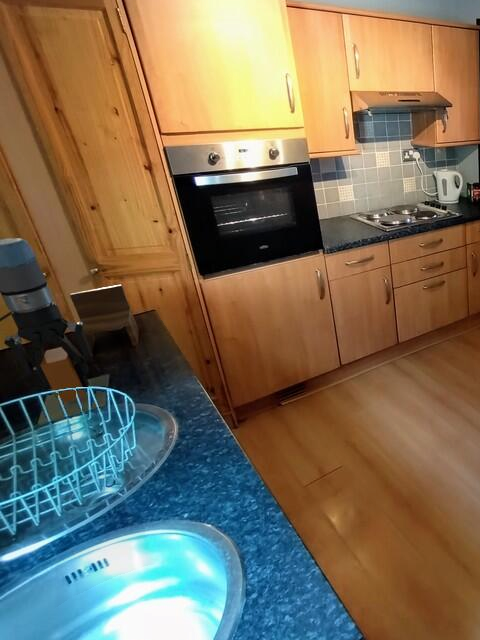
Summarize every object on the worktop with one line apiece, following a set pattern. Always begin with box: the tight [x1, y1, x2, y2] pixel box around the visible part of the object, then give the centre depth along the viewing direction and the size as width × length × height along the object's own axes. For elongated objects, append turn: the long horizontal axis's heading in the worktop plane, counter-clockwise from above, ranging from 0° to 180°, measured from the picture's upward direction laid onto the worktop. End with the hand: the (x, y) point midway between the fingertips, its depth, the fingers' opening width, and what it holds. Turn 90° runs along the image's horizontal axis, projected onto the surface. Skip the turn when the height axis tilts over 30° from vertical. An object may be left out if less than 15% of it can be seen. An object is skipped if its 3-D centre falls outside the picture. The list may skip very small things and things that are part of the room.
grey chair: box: [69, 283, 139, 352], centre depth 136 cm, size 12×12×16 cm
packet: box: [40, 346, 85, 404], centre depth 110 cm, size 8×4×11 cm, turn 37°
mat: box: [37, 374, 110, 426], centre depth 113 cm, size 16×12×1 cm
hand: (72, 389), depth 112 cm, fingers closed on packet, 4 cm apart
